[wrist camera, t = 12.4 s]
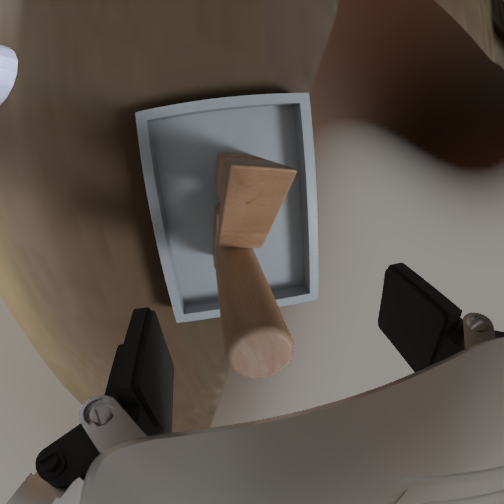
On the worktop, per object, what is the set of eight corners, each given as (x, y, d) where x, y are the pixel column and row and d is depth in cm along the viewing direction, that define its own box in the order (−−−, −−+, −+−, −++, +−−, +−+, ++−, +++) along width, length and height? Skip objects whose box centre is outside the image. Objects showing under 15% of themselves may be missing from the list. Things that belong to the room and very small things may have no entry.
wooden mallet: (254, 154, 28) (327, 178, 11) (246, 256, 32) (291, 380, 15) (216, 152, 27) (235, 170, 10) (212, 255, 31) (224, 384, 14)
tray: (141, 114, 25) (134, 112, 22) (299, 96, 27) (309, 92, 24) (178, 308, 34) (176, 322, 31) (309, 286, 35) (318, 299, 32)
